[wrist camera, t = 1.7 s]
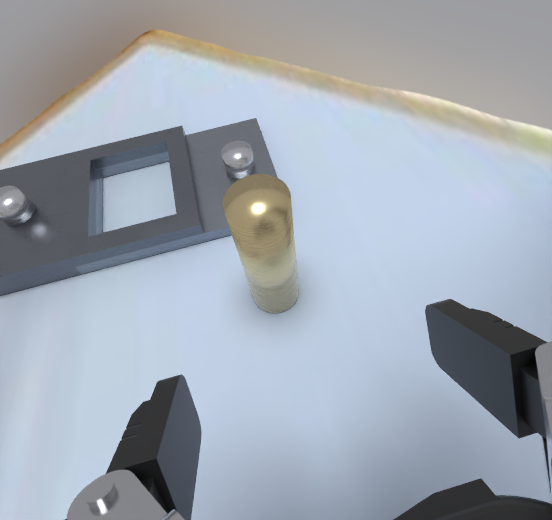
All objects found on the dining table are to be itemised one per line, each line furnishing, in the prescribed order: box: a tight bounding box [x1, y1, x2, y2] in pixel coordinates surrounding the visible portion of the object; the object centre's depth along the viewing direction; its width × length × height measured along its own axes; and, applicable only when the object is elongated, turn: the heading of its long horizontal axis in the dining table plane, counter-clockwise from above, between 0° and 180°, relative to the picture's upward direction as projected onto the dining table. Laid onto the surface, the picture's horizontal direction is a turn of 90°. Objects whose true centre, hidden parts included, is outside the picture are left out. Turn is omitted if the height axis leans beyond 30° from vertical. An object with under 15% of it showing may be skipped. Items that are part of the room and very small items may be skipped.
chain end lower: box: [75, 118, 277, 274], centre depth 33 cm, size 18×13×3 cm
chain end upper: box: [0, 126, 204, 296], centre depth 32 cm, size 18×13×4 cm
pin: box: [223, 174, 299, 313], centre depth 24 cm, size 4×4×11 cm
